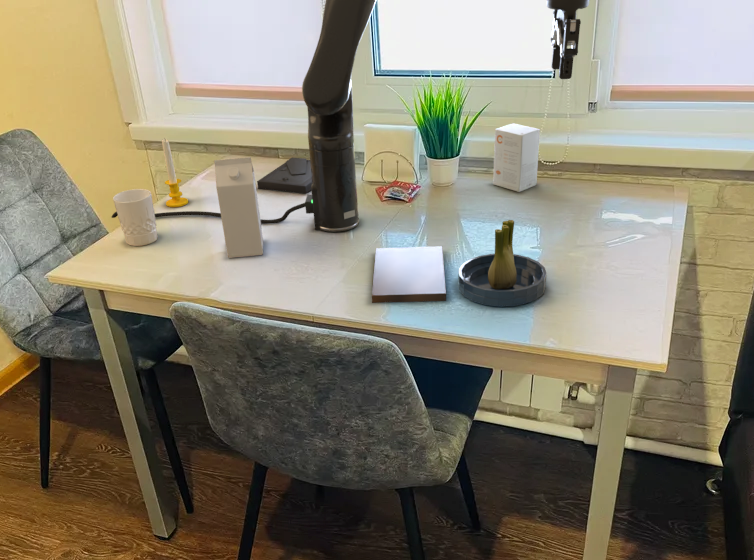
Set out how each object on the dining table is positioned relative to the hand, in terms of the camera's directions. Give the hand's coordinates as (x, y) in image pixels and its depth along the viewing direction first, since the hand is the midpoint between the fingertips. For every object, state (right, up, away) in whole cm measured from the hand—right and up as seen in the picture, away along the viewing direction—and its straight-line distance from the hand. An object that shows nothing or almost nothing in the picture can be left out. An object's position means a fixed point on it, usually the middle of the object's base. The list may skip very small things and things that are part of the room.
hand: (561, 73), depth 149 cm
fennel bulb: (-13, -42, -9) cm, 45 cm away
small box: (-2, -13, +34) cm, 36 cm away
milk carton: (-62, -32, +12) cm, 70 cm away
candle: (-81, -16, +37) cm, 91 cm away
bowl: (-13, -42, -9) cm, 45 cm away
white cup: (-85, -28, +20) cm, 92 cm away
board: (-29, -39, -3) cm, 49 cm away
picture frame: (-53, -8, +46) cm, 71 cm away
